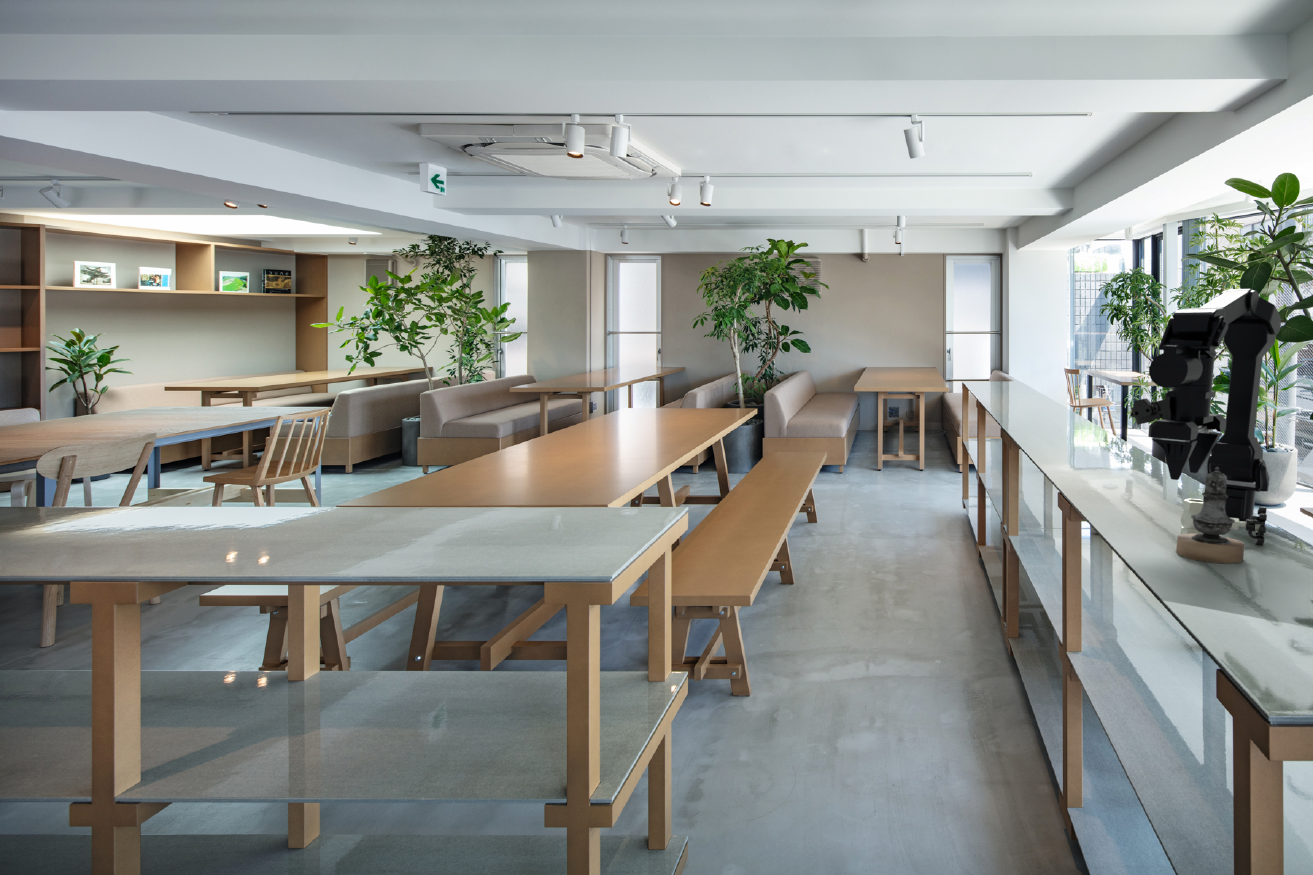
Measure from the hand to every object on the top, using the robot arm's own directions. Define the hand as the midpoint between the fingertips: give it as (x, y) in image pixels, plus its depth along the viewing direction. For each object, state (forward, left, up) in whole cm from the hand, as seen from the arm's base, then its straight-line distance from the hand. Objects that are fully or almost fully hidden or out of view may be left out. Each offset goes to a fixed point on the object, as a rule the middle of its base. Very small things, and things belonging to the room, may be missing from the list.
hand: (1184, 476), depth 143 cm
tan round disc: (+9, +5, -11) cm, 15 cm away
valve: (-5, +5, -12) cm, 14 cm away
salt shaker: (+8, +5, -9) cm, 13 cm away
